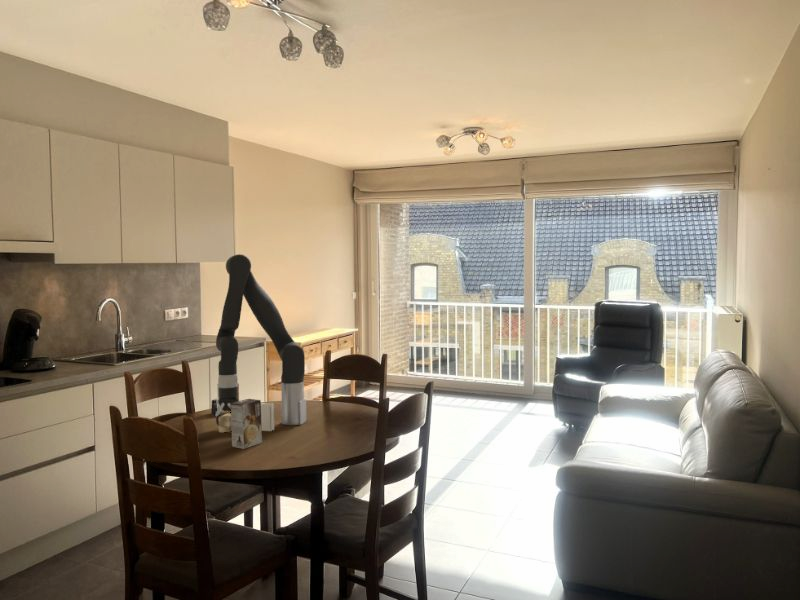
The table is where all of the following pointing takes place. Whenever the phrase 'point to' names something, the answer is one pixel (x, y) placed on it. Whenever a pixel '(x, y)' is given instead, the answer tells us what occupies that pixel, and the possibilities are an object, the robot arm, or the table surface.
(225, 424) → the block
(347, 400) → the table surface
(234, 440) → the coffee box
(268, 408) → the wall with pocket
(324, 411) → the table surface
